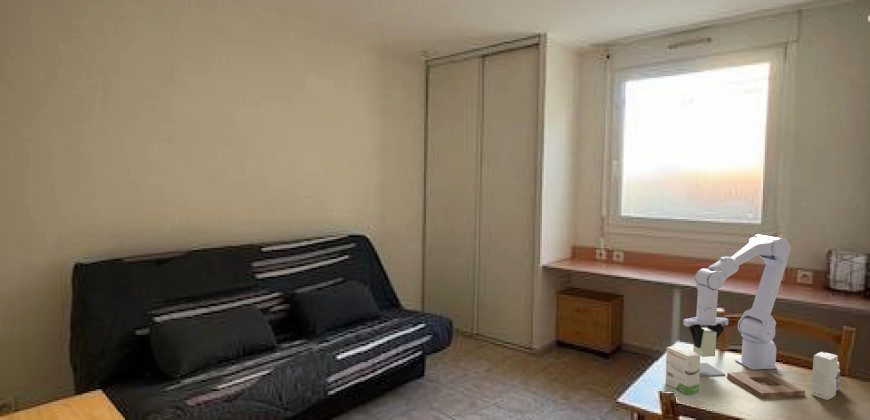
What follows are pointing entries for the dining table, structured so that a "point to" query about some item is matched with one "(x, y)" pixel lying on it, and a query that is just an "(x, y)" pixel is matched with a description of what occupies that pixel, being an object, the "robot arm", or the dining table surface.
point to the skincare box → (824, 375)
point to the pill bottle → (838, 377)
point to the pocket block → (777, 390)
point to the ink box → (682, 369)
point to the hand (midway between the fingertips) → (704, 346)
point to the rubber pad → (709, 370)
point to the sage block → (707, 343)
